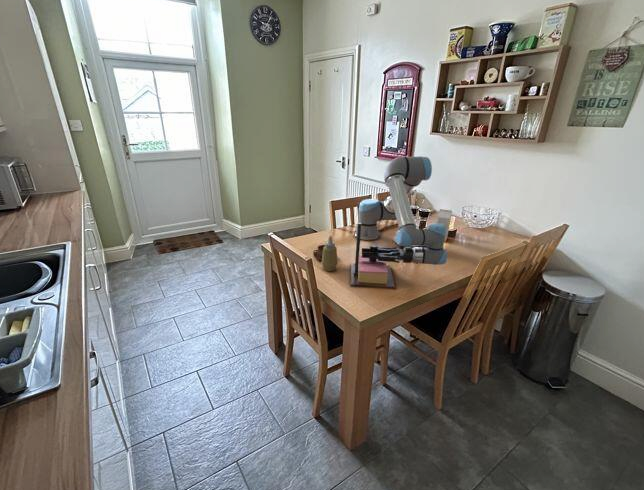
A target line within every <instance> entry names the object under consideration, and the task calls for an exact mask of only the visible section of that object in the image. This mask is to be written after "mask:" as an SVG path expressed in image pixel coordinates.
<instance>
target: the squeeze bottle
mask: <svg viewBox="0 0 644 490" xmlns="http://www.w3.org/2000/svg"><path fill="white" fill-rule="evenodd" d="M324 245H325V246H324V248H323V255H322V260H321V265H322V267H323V270H324V271H326V272H334V271H335V270H336V268H337V265H338V251H337V249H338V248H337V246H336V242H334V241H333V236H332V235H329V236H328V239H327V241H325V244H324Z"/></svg>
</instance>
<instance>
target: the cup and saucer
mask: <svg viewBox="0 0 644 490" xmlns="http://www.w3.org/2000/svg"><path fill="white" fill-rule="evenodd" d="M324 246H325V244H319V245H318V246H317V249H314V250H313V252H312V255H313V258H315V259H316V260H318V261H322V255H323V248H324Z"/></svg>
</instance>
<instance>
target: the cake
mask: <svg viewBox="0 0 644 490" xmlns="http://www.w3.org/2000/svg"><path fill="white" fill-rule="evenodd" d="M362 260H366V261H369V258H362V254H359V263H358V281H359V282H363V283H381V284H387V277H388V270H387V266H386V265H387V262H386V261H383V265H382V264H362ZM377 261H378V259H377Z"/></svg>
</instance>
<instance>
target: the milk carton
mask: <svg viewBox="0 0 644 490" xmlns="http://www.w3.org/2000/svg"><path fill="white" fill-rule="evenodd" d="M452 213H453V210H451V209H443V208H439V211H438V215H437V219H436V220H437V221H436V223H440V224H443V225H445V226H446V236H445V240H444V242H447V240H448V235H449V230H450V225H451V219H452Z"/></svg>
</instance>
